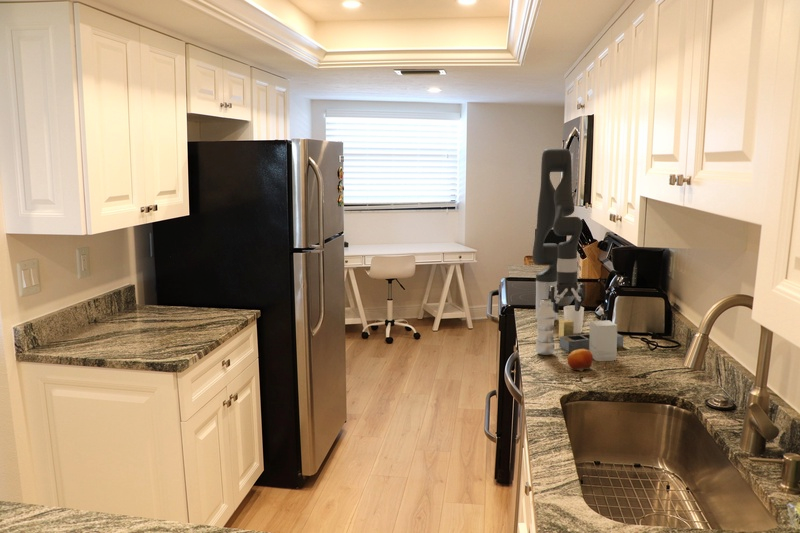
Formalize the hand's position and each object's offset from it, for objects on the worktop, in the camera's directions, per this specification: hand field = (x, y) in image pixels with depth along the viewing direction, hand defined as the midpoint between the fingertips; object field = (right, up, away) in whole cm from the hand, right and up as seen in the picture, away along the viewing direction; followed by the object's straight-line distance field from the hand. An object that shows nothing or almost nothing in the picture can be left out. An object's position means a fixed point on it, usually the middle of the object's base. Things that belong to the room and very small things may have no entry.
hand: (566, 311), depth 243 cm
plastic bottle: (-11, -15, -14) cm, 23 cm away
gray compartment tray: (+7, -13, -6) cm, 16 cm away
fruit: (-3, -17, -30) cm, 35 cm away
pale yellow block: (0, -11, +2) cm, 12 cm away
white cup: (+7, -9, +15) cm, 19 cm away
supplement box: (+7, -15, -19) cm, 26 cm away
